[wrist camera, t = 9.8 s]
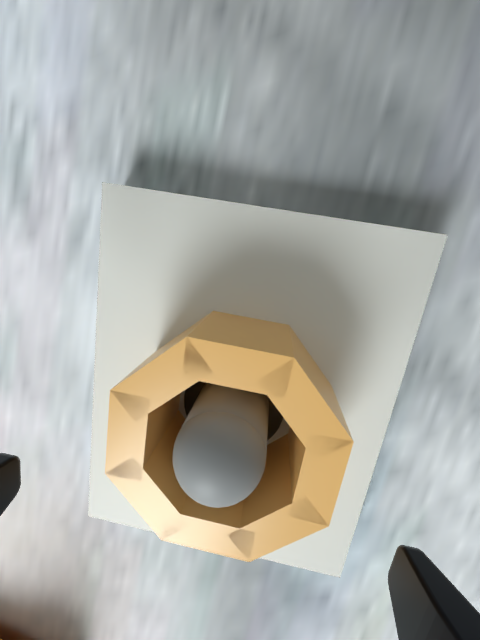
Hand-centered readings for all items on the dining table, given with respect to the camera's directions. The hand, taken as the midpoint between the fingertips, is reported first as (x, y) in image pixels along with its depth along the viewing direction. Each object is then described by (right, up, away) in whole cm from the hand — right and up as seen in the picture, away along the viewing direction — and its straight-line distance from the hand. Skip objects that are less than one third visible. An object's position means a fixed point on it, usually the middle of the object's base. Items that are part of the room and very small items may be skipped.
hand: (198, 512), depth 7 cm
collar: (+1, +1, +5) cm, 5 cm away
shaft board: (+1, +1, +7) cm, 7 cm away
